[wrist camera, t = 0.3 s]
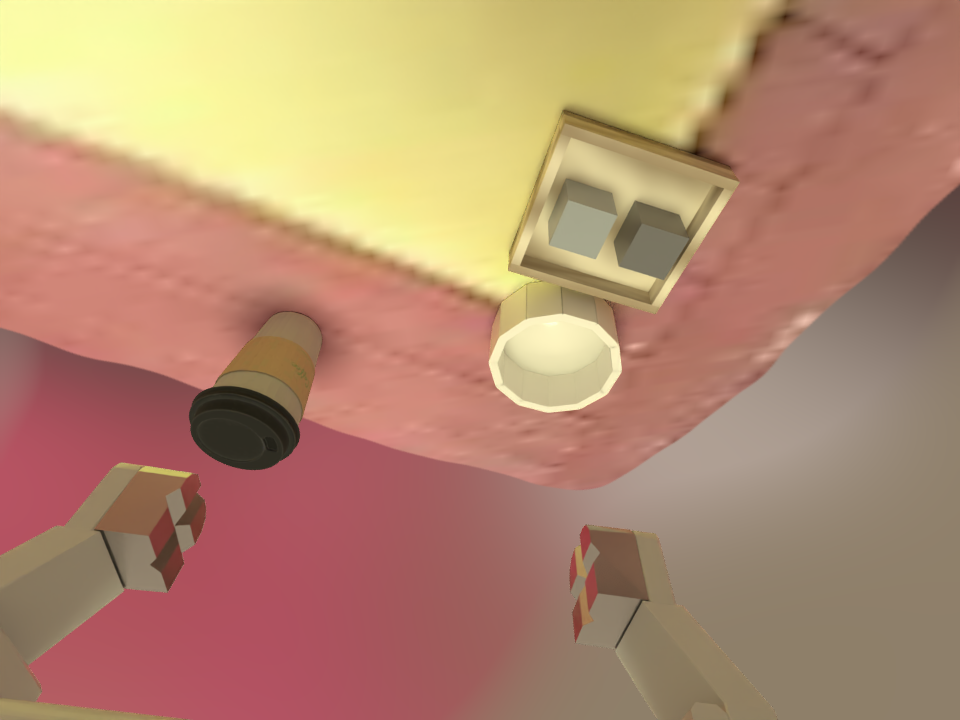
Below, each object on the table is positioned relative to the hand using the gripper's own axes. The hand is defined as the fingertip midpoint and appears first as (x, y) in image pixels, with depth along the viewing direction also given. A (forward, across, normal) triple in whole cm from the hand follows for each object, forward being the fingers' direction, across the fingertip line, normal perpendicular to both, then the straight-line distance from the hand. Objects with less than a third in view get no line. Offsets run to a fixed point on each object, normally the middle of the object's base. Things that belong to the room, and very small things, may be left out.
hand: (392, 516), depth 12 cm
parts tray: (+39, -12, +6) cm, 41 cm away
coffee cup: (+41, +17, +24) cm, 51 cm away
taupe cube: (+38, -9, +5) cm, 39 cm away
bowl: (+40, -10, +19) cm, 45 cm away
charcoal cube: (+38, -15, +6) cm, 41 cm away
